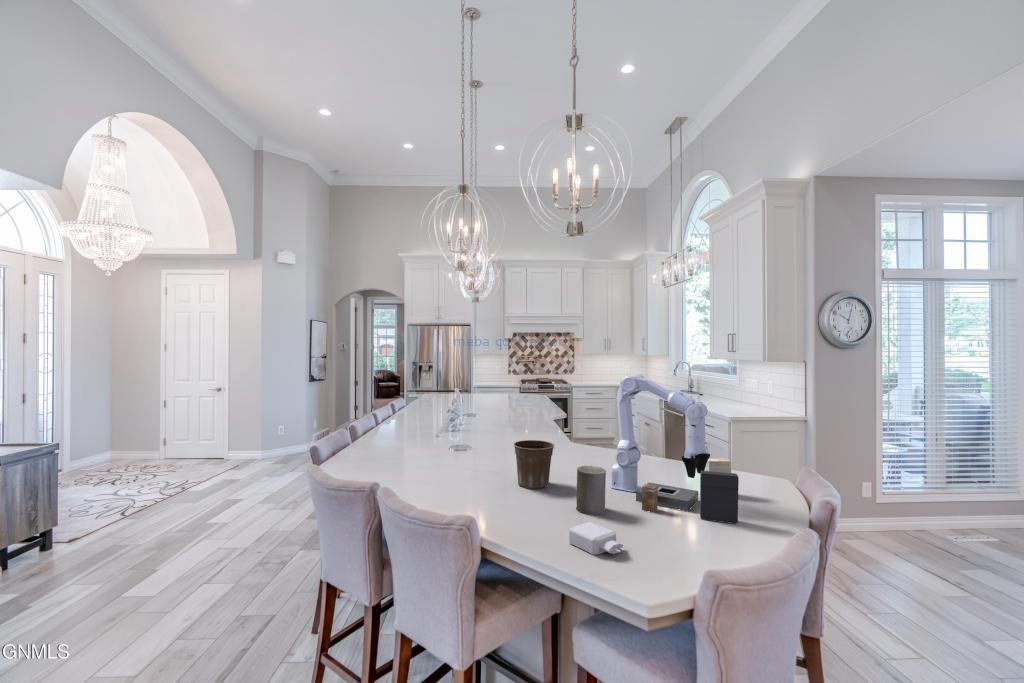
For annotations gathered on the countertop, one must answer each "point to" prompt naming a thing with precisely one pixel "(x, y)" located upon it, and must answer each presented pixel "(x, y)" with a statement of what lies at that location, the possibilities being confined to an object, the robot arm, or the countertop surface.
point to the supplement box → (718, 465)
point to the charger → (594, 539)
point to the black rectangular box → (719, 496)
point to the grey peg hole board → (673, 497)
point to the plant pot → (533, 463)
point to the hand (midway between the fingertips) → (695, 475)
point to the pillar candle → (591, 490)
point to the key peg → (649, 497)
